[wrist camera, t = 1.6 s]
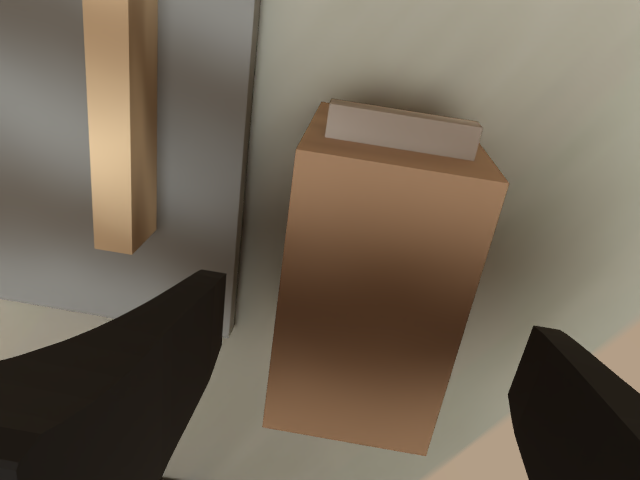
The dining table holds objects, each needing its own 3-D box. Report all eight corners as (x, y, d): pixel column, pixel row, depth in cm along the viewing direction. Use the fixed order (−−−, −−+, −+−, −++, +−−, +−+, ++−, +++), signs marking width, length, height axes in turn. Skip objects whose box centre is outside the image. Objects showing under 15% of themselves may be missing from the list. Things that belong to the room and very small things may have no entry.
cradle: (233, 326, 20) (213, 372, 18) (-113, 266, 21) (-180, 303, 18) (292, -396, 12) (270, -503, 10) (-290, -472, 12) (-460, -595, 10)
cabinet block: (412, 332, 20) (425, 456, 15) (292, 312, 20) (262, 426, 15) (471, 98, 16) (520, 146, 11) (325, 75, 16) (300, 112, 11)
